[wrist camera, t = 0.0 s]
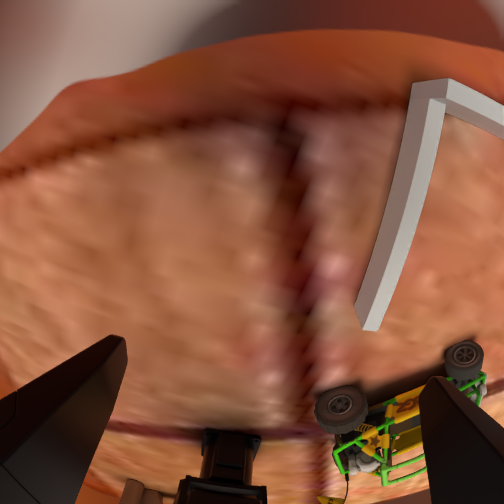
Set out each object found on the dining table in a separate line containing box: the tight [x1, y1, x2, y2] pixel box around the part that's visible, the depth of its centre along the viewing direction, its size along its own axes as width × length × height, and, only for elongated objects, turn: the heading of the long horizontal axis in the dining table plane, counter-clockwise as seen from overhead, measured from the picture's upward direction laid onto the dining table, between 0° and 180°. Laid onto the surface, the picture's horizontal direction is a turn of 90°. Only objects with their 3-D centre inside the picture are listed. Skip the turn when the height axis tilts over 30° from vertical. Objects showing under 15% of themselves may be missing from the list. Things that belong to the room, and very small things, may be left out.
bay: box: [354, 78, 504, 331], centre depth 19 cm, size 17×19×5 cm
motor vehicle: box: [314, 341, 487, 504], centre depth 25 cm, size 12×19×11 cm, turn 111°
